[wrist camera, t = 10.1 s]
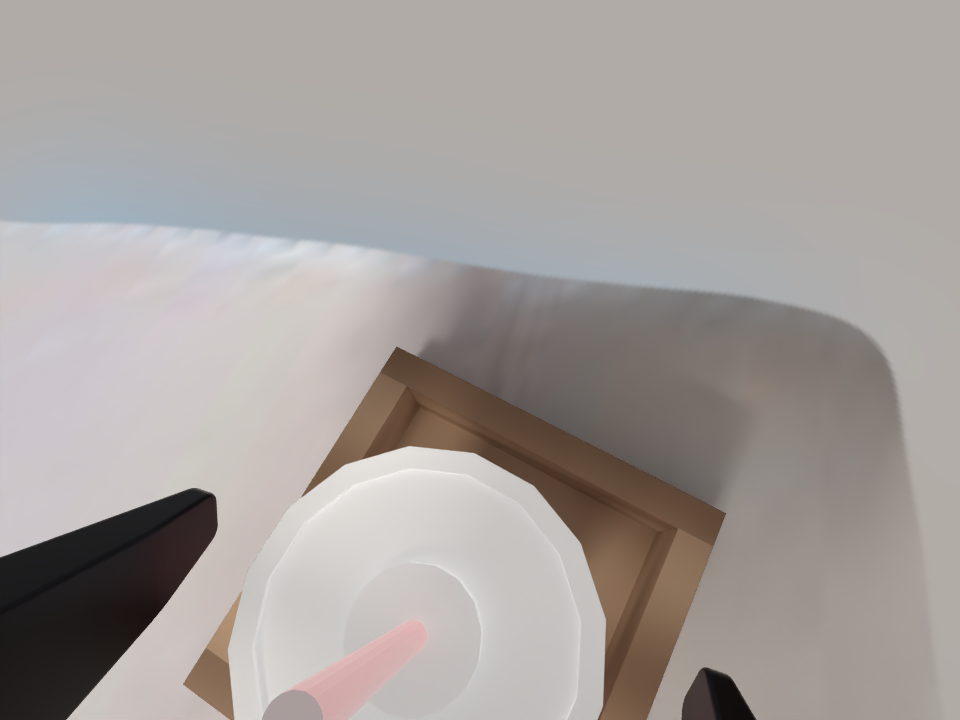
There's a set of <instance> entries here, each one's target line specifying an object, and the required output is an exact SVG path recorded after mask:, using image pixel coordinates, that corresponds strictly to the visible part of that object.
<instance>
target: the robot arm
mask: <svg viewBox="0 0 960 720" xmlns="http://www.w3.org/2000/svg"><path fill="white" fill-rule="evenodd" d="M217 527H218V522H217V504H216V497H215V496H214V494H212V493H210V492H207V491H204V490H201V489H198V488H191V489H188V490H185V491H182V492H180V493H177V494H174V495H171V496H169V497H166V498H163V499H160V500H158V501H155V502H152V503H149V504H147V505H144V506H141V507H138V508H135V509H133V510H130V511H127V512H124V513H122V514H119V515H116V516H113V517H111V518H108V519H105V520H102V521H100V522H97V523H94V524H91V525H89V526H86V527H83V528H80V529H78V530H75V531H72V532H69V533H67V534H64V535H61V536H58V537H55V538H53V539H50V540H47V541H44V542H42V543H39V544H36V545H33V546H31V547H28V548H25V549H22V550H20V551H17V552H14V553H11V554H9V555H6V556H3V557H0V720H66V719H67V718H68V717H69V716H70V715H71V714H72V713H73V711H74V710H75V709H76V708H77V707H78V706H79V705H80V703H81V702H82V701H83V700H84V699H85V698H86V697H87V695H88V694H89V693H90V692H91V691H92V690H93V688H94V687H95V686H96V685H97V684H98V683H99V682H100V680H101V679H102V678H103V677H104V676H105V675H106V674H107V672H108V671H109V670H110V669H111V668H112V667H113V666H114V664H115V663H116V662H117V661H118V660H119V659H120V657H121V656H122V655H123V654H124V653H125V652H126V651H127V649H128V648H129V647H130V646H131V645H132V644H133V643H134V641H135V640H136V639H137V638H138V637H139V636H140V635H141V633H142V632H143V631H144V630H145V629H146V628H147V626H148V625H149V624H150V623H151V622H152V621H153V619H154V618H155V617H156V616H157V615H158V613H159V612H160V611H161V610H162V609H163V607H164V606H165V605H166V603H167V602H168V601H169V599H170V598H171V597H172V595H173V594H174V592H175V591H176V590H177V588H178V587H179V585H180V584H181V583H182V581H183V580H184V579H185V577H186V576H187V574H188V573H189V572H190V570H191V569H192V567H193V566H194V565H195V563H196V562H197V561H198V559H199V558H200V556H201V555H202V554H203V552H204V551H205V549H206V548H207V547H208V545H209V544H210V543H211V541H212V540H213V538H214V536H215V534H216V531H217ZM682 720H756V718H755V717H754V715H753V713H752V712H751V710H750V708H749V707H748V705H747V703H746V701H745V700H744V698H743V696H742V695H741V693H740V691H739V690H738V688H737V686H736V684H735V683H734V681H733V680H732V679H731V678H730V677H729V676H728V675H727V674H724V673H721V672H719V671H716V670H713V669H710V668H706V667H705V668H702V669H701V670H700V671H699V673H698V675H697V677H696V678H695V680H694V682H693V684H692V686H691V687H690V689H689V691H688V693H687V694H686V697H685V699H684V703H683V708H682Z"/></svg>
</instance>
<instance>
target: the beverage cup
mask: <svg viewBox="0 0 960 720" xmlns="http://www.w3.org/2000/svg"><path fill="white" fill-rule="evenodd" d="M605 633H606V618H605V615H604V612H603V609H602V606H601V603H600V600H599V597H598V594H597V591H596V588H595V585H594V582H593V579H592V576H591V573H590V570H589V567H588V564H587V561H586V558H585V555H584V552H583V549H582V546H581V543H580V542H579V541H578V539H577V538H576V537H575V536H574V534H573V533H572V532H571V531H570V529H569V528H568V527H567V526H566V525H565V523H564V522H563V521H562V520H561V518H560V517H559V516H558V515H557V514H556V512H555V511H554V510H553V509H552V507H551V506H550V505H549V504H548V502H547V501H546V500H545V499H544V498H543V496H542V495H541V494H540V493H539V491H538V490H537V489H536V488H535V487H534V486H533V485H531V484H529V483H528V482H526V481H524V480H522V479H520V478H519V477H517V476H515V475H513V474H511V473H509V472H508V471H506V470H504V469H502V468H500V467H499V466H497V465H495V464H493V463H491V462H490V461H488V460H486V459H484V458H482V457H480V456H479V455H477V454H475V453H468V452H459V451H450V450H440V449H431V448H422V447H413V446H408V447H404V448H401V449H397V450H394V451H390V452H387V453H384V454H380V455H377V456H373V457H370V458H366V459H363V460H359V461H356V462H353V463H349V464H346V465H344V466H343V467H341V468H340V469H339V470H337V471H336V472H335V473H333V474H332V475H331V476H329V477H328V478H327V479H325V480H324V481H323V482H322V483H320V484H319V485H318V486H316V487H315V488H314V489H312V490H311V491H310V492H308V493H307V494H306V495H304V496H303V497H302V498H300V499H299V500H298V501H297V502H295V503H294V504H293V505H291V506H290V507H289V508H288V509H287V511H286V512H285V514H284V515H283V517H282V519H281V520H280V522H279V523H278V525H277V526H276V528H275V529H274V531H273V532H272V534H271V535H270V537H269V539H268V540H267V542H266V543H265V545H264V546H263V548H262V549H261V551H260V552H259V554H258V555H257V557H256V559H255V560H254V562H253V563H252V565H251V566H250V568H249V569H248V571H247V575H246V579H245V583H244V587H243V591H242V595H241V599H240V603H239V607H238V611H237V615H236V619H235V623H234V627H233V631H232V635H231V639H230V643H229V647H228V658H229V668H230V679H231V689H232V700H233V710H234V720H598V717H599V715H600V712H601V710H602V708H603V692H604V662H605Z"/></svg>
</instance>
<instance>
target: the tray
mask: <svg viewBox="0 0 960 720" xmlns="http://www.w3.org/2000/svg"><path fill="white" fill-rule="evenodd" d="M408 446H413V447H422V448H431V449H440V450H450V451H459V452H468V453H475V454H477V455H479V456H480V457H482V458H484V459H486V460H488V461H490V462H491V463H493V464H495V465H497V466H499V467H500V468H502V469H504V470H506V471H508V472H509V473H511V474H513V475H515V476H517V477H519V478H520V479H522V480H524V481H526V482H528V483H529V484H531V485H533V486H534V487H535V488H536V489H537V490H538V491H539V493H540V494H541V495H542V496H543V498H544V499H545V500H546V501H547V502H548V504H549V505H550V506H551V507H552V509H553V510H554V511H555V512H556V514H557V515H558V516H559V517H560V518H561V520H562V521H563V522H564V523H565V525H566V526H567V527H568V528H569V529H570V531H571V532H572V533H573V534H574V536H575V537H576V538H577V539H578V541H579V542H580V543H581V546H582V549H583V552H584V555H585V558H586V561H587V564H588V567H589V570H590V573H591V576H592V579H593V582H594V585H595V588H596V591H597V594H598V597H599V600H600V603H601V606H602V609H603V612H604V615H605V618H606V633H605V662H604V692H603V708H602V710H601V712H600V715H599V717H598V720H646V719H647V717H648V714H649V711H650V709H651V706H652V704H653V701H654V698H655V696H656V693H657V691H658V688H659V685H660V683H661V680H662V678H663V675H664V673H665V670H666V667H667V665H668V662H669V660H670V657H671V654H672V652H673V649H674V647H675V644H676V641H677V639H678V636H679V634H680V631H681V628H682V626H683V623H684V621H685V618H686V616H687V613H688V610H689V608H690V605H691V603H692V600H693V597H694V595H695V592H696V590H697V587H698V584H699V582H700V579H701V577H702V574H703V572H704V569H705V566H706V564H707V561H708V559H709V556H710V553H711V551H712V548H713V546H714V543H715V540H716V538H717V535H718V533H719V530H720V527H721V525H722V522H723V520H724V517H725V515H726V513H724V512H722V511H720V510H718V509H716V508H714V507H712V506H710V505H708V504H707V503H705V502H703V501H701V500H699V499H697V498H695V497H693V496H691V495H689V494H687V493H685V492H683V491H681V490H679V489H677V488H675V487H673V486H671V485H669V484H667V483H665V482H663V481H661V480H659V479H657V478H655V477H653V476H651V475H649V474H647V473H645V472H643V471H641V470H639V469H637V468H635V467H633V466H631V465H629V464H628V463H626V462H624V461H622V460H620V459H618V458H616V457H614V456H612V455H610V454H608V453H606V452H604V451H602V450H600V449H598V448H596V447H594V446H592V445H590V444H588V443H586V442H584V441H582V440H580V439H578V438H576V437H574V436H572V435H570V434H568V433H566V432H564V431H562V430H560V429H558V428H556V427H554V426H552V425H550V424H549V423H547V422H545V421H543V420H541V419H539V418H537V417H535V416H533V415H531V414H529V413H527V412H525V411H523V410H521V409H519V408H517V407H515V406H513V405H511V404H509V403H507V402H505V401H503V400H501V399H499V398H497V397H495V396H493V395H491V394H489V393H487V392H485V391H483V390H481V389H479V388H477V387H475V386H473V385H471V384H470V383H468V382H466V381H464V380H462V379H460V378H458V377H456V376H454V375H452V374H450V373H448V372H446V371H444V370H442V369H440V368H438V367H436V366H434V365H432V364H430V363H428V362H426V361H424V360H422V359H420V358H418V357H416V356H414V355H412V354H410V353H408V352H406V351H404V350H402V349H400V348H398V347H396V348H395V350H394V351H393V353H392V355H391V356H390V358H389V359H388V361H387V363H386V364H385V366H384V367H383V369H382V370H381V372H380V374H379V375H378V377H377V378H376V380H375V381H374V383H373V385H372V386H371V388H370V389H369V391H368V393H367V394H366V396H365V397H364V399H363V400H362V402H361V404H360V405H359V407H358V408H357V410H356V412H355V413H354V415H353V416H352V418H351V419H350V421H349V423H348V424H347V426H346V427H345V429H344V430H343V432H342V434H341V435H340V437H339V438H338V440H337V442H336V443H335V445H334V446H333V448H332V449H331V451H330V453H329V454H328V456H327V457H326V459H325V461H324V462H323V464H322V465H321V467H320V468H319V470H318V472H317V473H316V475H315V476H314V478H313V479H312V481H311V483H310V484H309V486H308V487H307V489H306V491H305V492H304V494H303V495H302V497H303V496H304V495H306V494H307V493H308V492H310V491H311V490H312V489H314V488H315V487H316V486H318V485H319V484H320V483H322V482H323V481H324V480H325V479H327V478H328V477H329V476H331V475H332V474H333V473H335V472H336V471H337V470H339V469H340V468H341V467H343V466H344V465H346V464H349V463H353V462H356V461H359V460H363V459H366V458H370V457H373V456H377V455H380V454H384V453H387V452H390V451H394V450H397V449H401V448H404V447H408ZM302 497H301V498H302ZM242 591H243V590H242ZM241 595H242V592H241V593H240V595H239V596H238V598H237V600H236V601H235V603H234V604H233V606H232V608H231V609H230V611H229V612H228V614H227V615H226V617H225V619H224V620H223V622H222V623H221V625H220V626H219V628H218V630H217V631H216V633H215V634H214V636H213V638H212V639H211V641H210V642H209V644H208V645H207V647H206V649H205V650H204V652H203V653H202V655H201V657H200V658H199V660H198V661H197V663H196V664H195V666H194V668H193V669H192V671H191V672H190V674H189V675H188V677H187V679H186V680H185V682H184V683H183V685H185V686H186V687H187V688H189V689H190V690H191V691H193V692H194V693H195V694H197V695H198V696H199V697H201V698H202V699H203V700H205V701H206V702H207V703H209V704H210V705H211V706H213V707H214V708H215V709H217V710H218V711H219V712H221V713H222V714H223V715H225V716H226V717H227V718H229V719H230V720H234V710H233V700H232V689H231V679H230V668H229V658H228V647H229V643H230V639H231V635H232V631H233V627H234V623H235V619H236V615H237V611H238V607H239V603H240V599H241Z"/></svg>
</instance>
